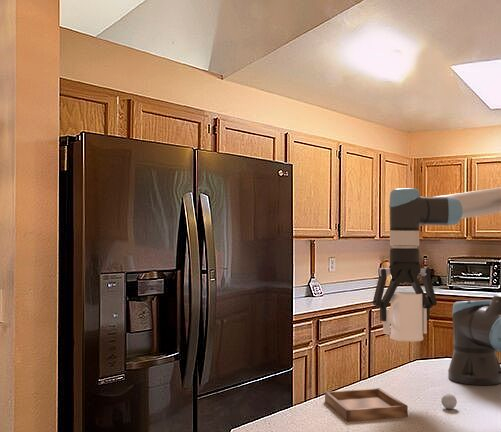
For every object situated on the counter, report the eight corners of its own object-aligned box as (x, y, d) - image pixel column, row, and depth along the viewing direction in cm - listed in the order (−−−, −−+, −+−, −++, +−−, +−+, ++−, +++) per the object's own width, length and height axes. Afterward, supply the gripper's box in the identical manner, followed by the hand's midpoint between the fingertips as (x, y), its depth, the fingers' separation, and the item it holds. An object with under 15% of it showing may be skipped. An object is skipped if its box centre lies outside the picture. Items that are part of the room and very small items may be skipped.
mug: (401, 344, 151) (401, 295, 152) (374, 339, 158) (374, 293, 159) (430, 339, 158) (430, 293, 159) (403, 335, 165) (403, 291, 166)
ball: (452, 406, 152) (451, 391, 152) (459, 410, 148) (459, 395, 148) (438, 407, 151) (438, 392, 151) (446, 411, 147) (445, 396, 147)
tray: (379, 397, 160) (379, 388, 160) (407, 416, 144) (407, 405, 144) (325, 401, 158) (324, 392, 158) (347, 421, 141) (347, 410, 141)
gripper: (437, 247, 165) (437, 330, 164) (359, 247, 161) (359, 332, 160) (450, 247, 158) (451, 334, 157) (369, 247, 154) (369, 336, 153)
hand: (404, 333), depth 159 cm, fingers closed on mug, 9 cm apart
